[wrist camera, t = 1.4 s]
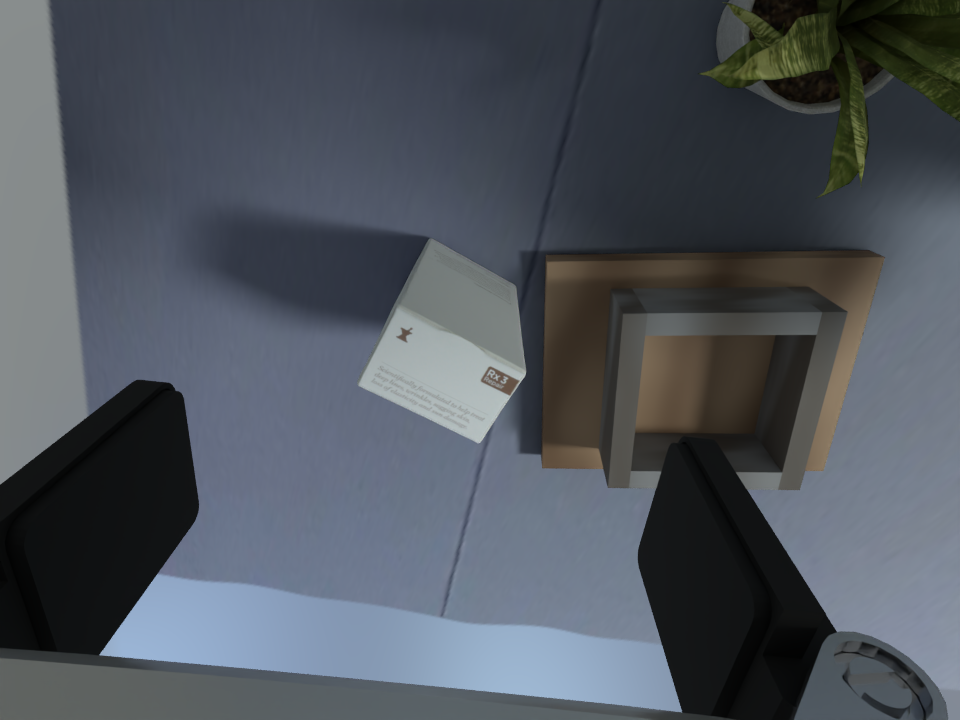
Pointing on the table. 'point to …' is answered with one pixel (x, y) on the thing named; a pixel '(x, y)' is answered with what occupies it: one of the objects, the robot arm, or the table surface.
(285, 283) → the table surface
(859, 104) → the house plant
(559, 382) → the socket
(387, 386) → the skincare box
